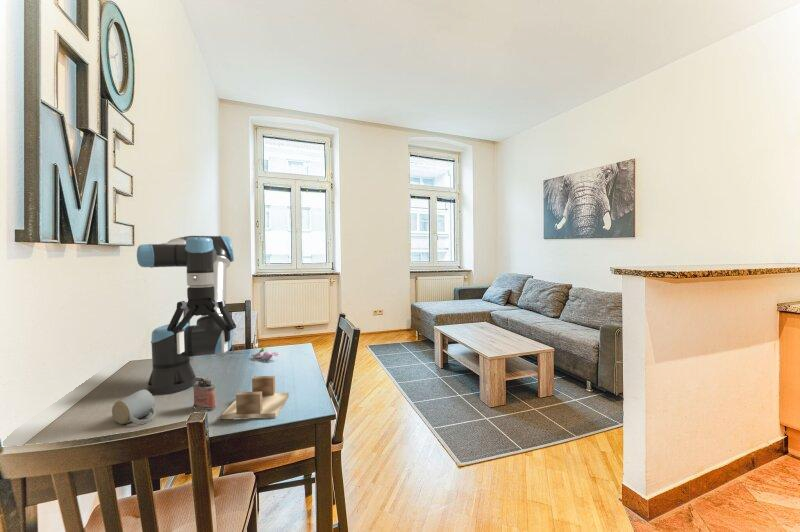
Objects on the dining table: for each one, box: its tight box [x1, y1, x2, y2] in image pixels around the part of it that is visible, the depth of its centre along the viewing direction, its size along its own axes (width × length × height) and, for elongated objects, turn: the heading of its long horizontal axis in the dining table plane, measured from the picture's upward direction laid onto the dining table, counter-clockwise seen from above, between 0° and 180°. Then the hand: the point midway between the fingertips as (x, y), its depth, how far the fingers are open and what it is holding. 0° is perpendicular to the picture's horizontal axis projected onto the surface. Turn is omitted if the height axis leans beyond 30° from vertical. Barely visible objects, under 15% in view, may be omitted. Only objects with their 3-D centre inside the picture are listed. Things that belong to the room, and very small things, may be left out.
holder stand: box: [220, 375, 290, 420], centre depth 111 cm, size 16×15×8 cm
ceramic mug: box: [111, 389, 156, 425], centre depth 103 cm, size 11×8×8 cm
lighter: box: [192, 376, 217, 412], centre depth 111 cm, size 8×3×10 cm, turn 71°
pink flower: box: [250, 347, 280, 361], centre depth 160 cm, size 6×6×15 cm
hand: (203, 352), depth 110 cm, fingers open, 13 cm apart
